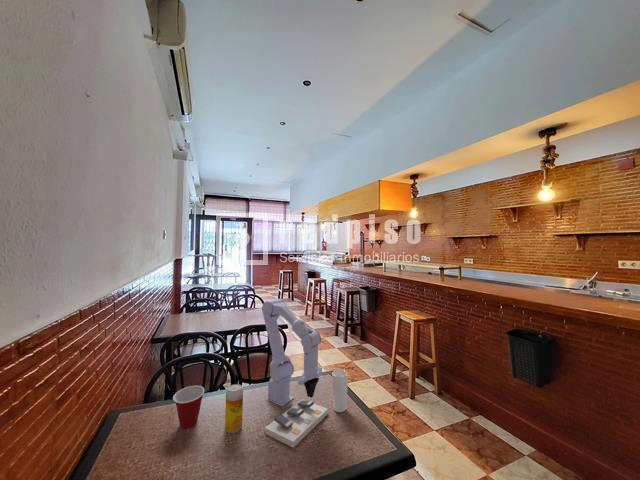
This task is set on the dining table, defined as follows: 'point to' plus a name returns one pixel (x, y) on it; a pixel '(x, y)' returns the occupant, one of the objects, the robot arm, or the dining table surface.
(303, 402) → the block
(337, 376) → the drinking glass
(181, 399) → the plastic cup
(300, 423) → the switch panel
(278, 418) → the block
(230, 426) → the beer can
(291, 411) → the block
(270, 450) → the dining table surface
